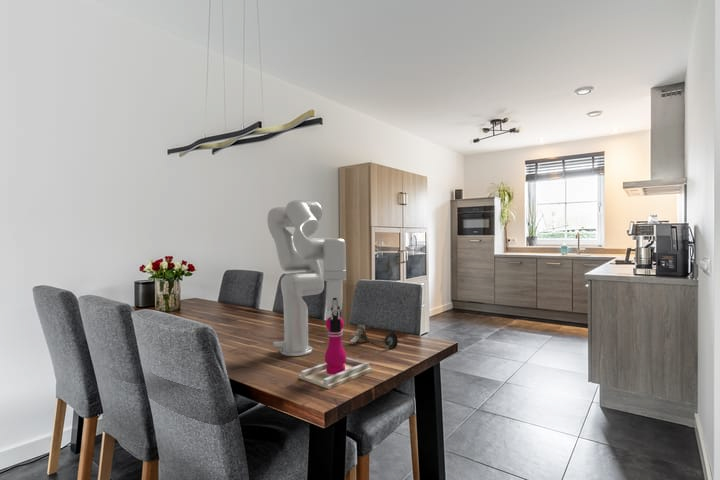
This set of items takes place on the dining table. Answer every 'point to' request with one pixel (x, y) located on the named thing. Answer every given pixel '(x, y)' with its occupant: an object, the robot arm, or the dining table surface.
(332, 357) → the pepper mill
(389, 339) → the artificial flower
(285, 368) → the dining table surface
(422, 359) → the dining table surface
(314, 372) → the rail board
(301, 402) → the dining table surface
